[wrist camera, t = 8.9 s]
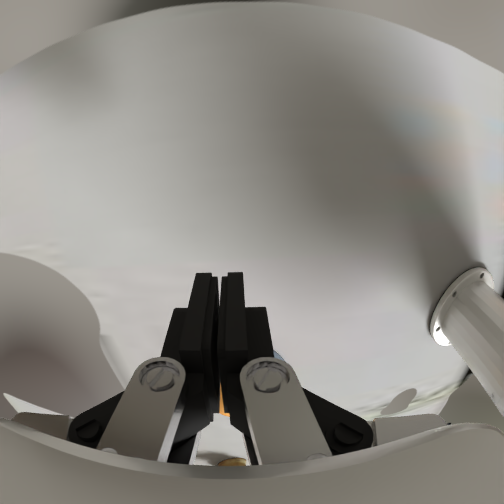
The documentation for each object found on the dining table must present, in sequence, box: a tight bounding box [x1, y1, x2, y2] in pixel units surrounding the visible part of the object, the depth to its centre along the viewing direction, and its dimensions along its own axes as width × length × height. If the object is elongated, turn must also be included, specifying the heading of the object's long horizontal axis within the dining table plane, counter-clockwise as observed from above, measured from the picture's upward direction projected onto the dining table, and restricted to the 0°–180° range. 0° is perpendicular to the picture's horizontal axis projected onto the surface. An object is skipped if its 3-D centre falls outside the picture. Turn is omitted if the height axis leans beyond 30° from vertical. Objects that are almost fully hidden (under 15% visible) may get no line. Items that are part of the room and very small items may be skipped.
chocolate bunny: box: [218, 458, 246, 466], centre depth 39 cm, size 6×8×10 cm
